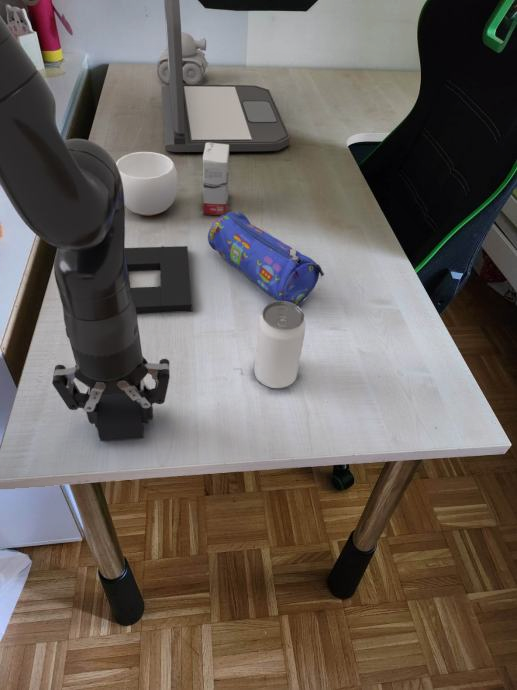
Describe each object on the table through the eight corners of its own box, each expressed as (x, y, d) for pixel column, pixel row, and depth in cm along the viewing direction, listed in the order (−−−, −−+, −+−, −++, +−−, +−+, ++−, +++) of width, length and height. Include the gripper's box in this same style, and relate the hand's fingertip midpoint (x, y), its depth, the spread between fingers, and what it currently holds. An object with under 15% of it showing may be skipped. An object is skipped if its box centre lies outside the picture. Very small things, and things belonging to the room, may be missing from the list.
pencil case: (320, 299, 90) (329, 255, 83) (285, 320, 86) (291, 274, 79) (239, 241, 101) (241, 197, 94) (204, 256, 97) (203, 211, 90)
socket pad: (89, 315, 84) (88, 309, 83) (97, 255, 95) (96, 248, 94) (191, 311, 86) (191, 304, 85) (187, 252, 97) (187, 246, 96)
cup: (190, 214, 107) (188, 170, 100) (136, 231, 101) (131, 186, 94) (160, 188, 113) (156, 145, 106) (108, 203, 107) (101, 159, 100)
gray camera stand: (291, 154, 128) (308, 7, 106) (165, 155, 124) (155, 2, 101) (266, 95, 155) (275, -33, 132) (161, 94, 150) (152, -39, 127)
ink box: (226, 216, 107) (227, 162, 98) (202, 215, 107) (202, 160, 98) (228, 195, 113) (230, 142, 104) (206, 193, 113) (205, 141, 104)
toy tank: (209, 75, 163) (209, 29, 154) (206, 88, 156) (205, 40, 146) (162, 72, 163) (159, 25, 153) (156, 84, 155) (152, 35, 146)
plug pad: (100, 441, 67) (96, 425, 65) (103, 407, 71) (99, 391, 68) (143, 437, 68) (140, 422, 65) (144, 404, 72) (141, 388, 69)
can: (252, 388, 75) (258, 329, 67) (255, 356, 80) (260, 296, 71) (297, 391, 75) (308, 333, 67) (296, 359, 80) (306, 300, 71)
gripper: (169, 304, 61) (175, 394, 73) (40, 309, 58) (69, 401, 71) (170, 350, 55) (177, 439, 67) (29, 357, 53) (62, 448, 65)
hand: (122, 419), depth 69 cm, fingers closed on plug pad, 5 cm apart
